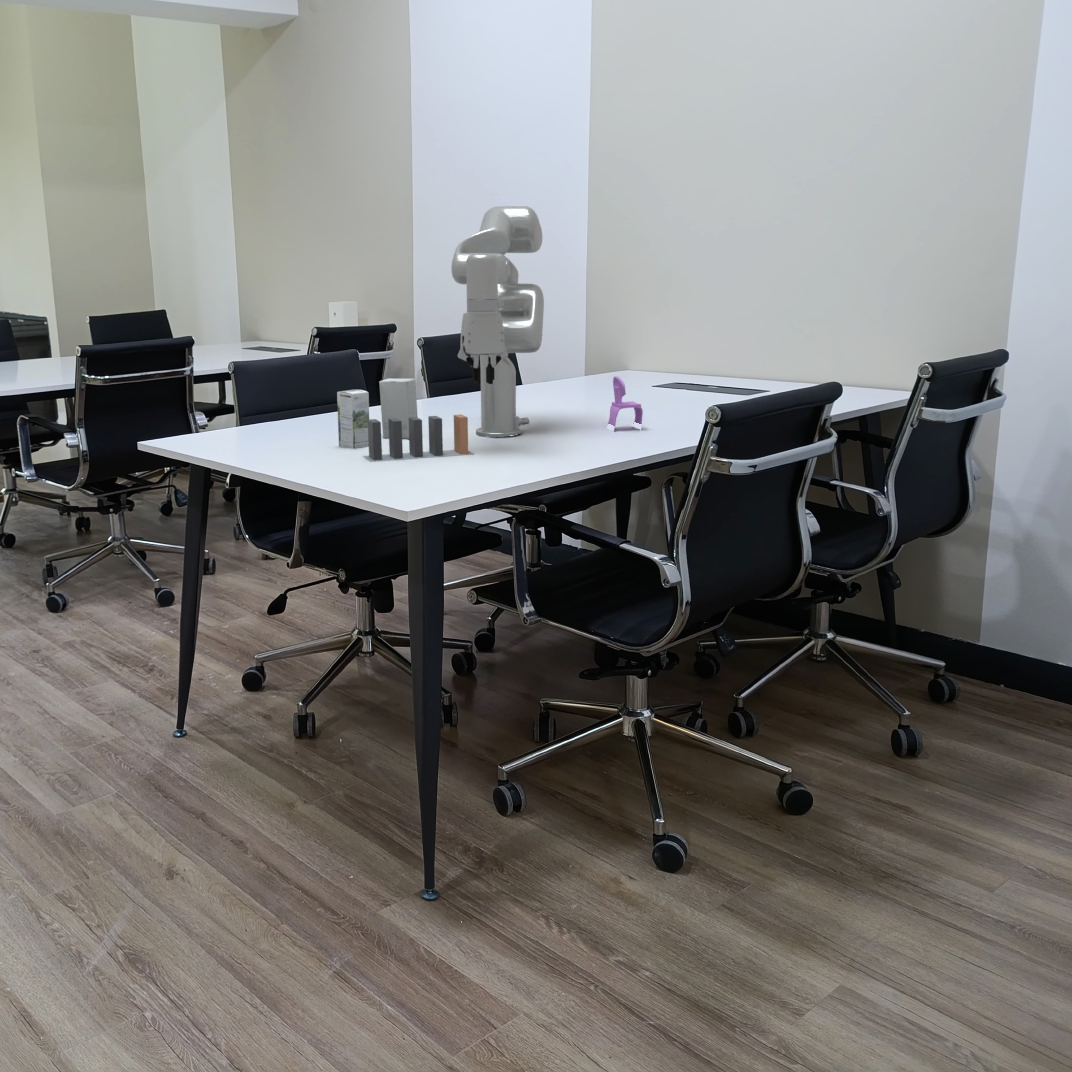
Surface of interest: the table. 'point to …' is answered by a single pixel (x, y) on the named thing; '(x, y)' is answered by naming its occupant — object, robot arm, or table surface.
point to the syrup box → (353, 418)
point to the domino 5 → (461, 434)
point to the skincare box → (398, 403)
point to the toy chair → (622, 403)
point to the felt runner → (425, 455)
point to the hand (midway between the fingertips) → (483, 383)
